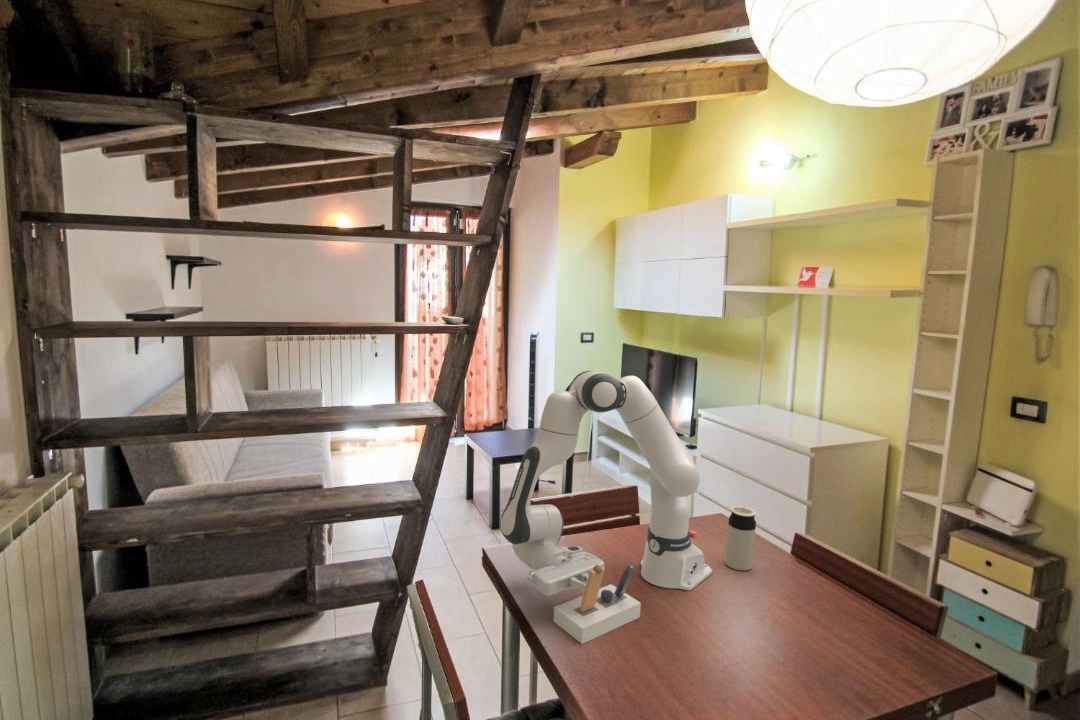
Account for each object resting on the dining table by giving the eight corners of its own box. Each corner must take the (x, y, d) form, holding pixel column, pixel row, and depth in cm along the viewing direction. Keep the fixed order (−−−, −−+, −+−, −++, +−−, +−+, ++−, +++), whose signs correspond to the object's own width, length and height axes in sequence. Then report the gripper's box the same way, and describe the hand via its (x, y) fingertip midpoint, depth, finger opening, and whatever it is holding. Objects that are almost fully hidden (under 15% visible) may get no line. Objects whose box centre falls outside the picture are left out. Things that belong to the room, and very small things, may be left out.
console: (610, 597, 159) (611, 583, 159) (639, 617, 151) (640, 602, 150) (553, 621, 147) (554, 606, 147) (581, 644, 139) (582, 627, 138)
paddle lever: (589, 602, 148) (601, 561, 143) (595, 608, 146) (607, 566, 142) (578, 607, 145) (589, 565, 141) (583, 613, 144) (595, 571, 139)
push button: (606, 593, 152) (607, 588, 152) (614, 598, 150) (615, 593, 150) (598, 597, 150) (598, 592, 150) (606, 602, 148) (606, 597, 148)
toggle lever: (618, 589, 154) (632, 561, 149) (624, 596, 152) (638, 568, 148) (612, 592, 152) (625, 563, 148) (618, 599, 151) (631, 570, 146)
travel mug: (748, 574, 176) (753, 517, 173) (721, 566, 180) (726, 511, 177) (754, 563, 182) (759, 509, 180) (728, 556, 186) (733, 503, 184)
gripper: (524, 563, 149) (557, 587, 138) (584, 544, 161) (619, 565, 150) (523, 586, 150) (556, 612, 139) (583, 565, 162) (617, 587, 151)
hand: (589, 587), depth 144 cm, fingers closed, pressing on paddle lever
